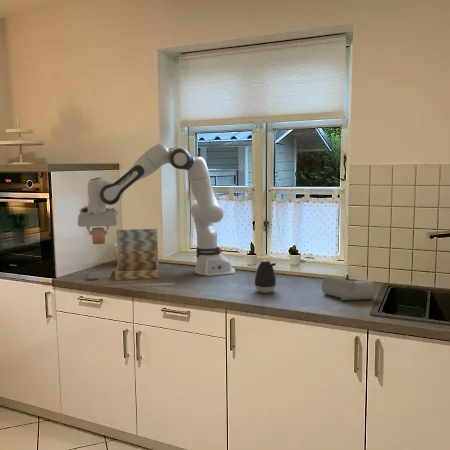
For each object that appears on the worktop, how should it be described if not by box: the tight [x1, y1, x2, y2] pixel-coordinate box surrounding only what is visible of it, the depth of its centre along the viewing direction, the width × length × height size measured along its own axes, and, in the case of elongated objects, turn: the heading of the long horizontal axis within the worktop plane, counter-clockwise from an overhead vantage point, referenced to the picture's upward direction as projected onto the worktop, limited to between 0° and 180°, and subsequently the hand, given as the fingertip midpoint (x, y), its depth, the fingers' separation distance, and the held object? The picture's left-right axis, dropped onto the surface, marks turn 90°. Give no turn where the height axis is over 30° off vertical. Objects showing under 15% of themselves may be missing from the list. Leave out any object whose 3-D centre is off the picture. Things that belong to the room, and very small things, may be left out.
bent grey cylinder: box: [321, 275, 376, 302], centre depth 213 cm, size 18×11×20 cm
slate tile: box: [86, 270, 113, 281], centre depth 254 cm, size 12×14×1 cm
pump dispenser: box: [254, 259, 277, 294], centre depth 222 cm, size 10×10×15 cm
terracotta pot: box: [91, 226, 106, 245], centre depth 251 cm, size 6×6×8 cm
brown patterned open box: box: [114, 228, 159, 281], centre depth 253 cm, size 22×20×24 cm
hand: (98, 234), depth 250 cm, fingers closed on terracotta pot, 6 cm apart
